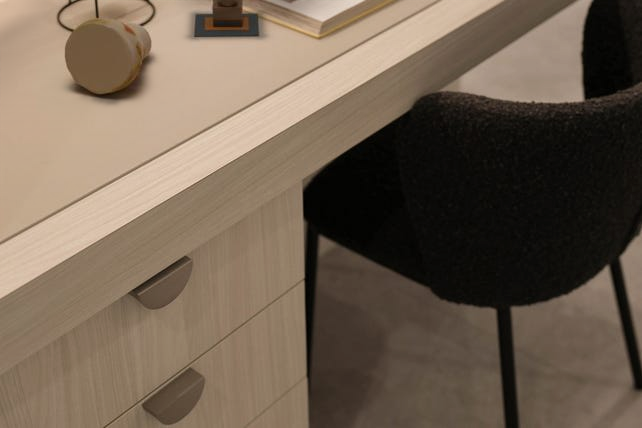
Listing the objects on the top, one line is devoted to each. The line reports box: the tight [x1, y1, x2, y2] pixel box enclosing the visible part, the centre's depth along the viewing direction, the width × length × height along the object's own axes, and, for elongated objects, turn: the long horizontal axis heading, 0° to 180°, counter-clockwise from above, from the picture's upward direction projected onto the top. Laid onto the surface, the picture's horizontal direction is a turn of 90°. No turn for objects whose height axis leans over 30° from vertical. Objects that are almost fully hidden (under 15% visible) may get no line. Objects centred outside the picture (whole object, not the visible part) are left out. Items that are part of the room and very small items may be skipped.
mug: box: [64, 17, 153, 95], centre depth 85 cm, size 8×10×10 cm
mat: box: [193, 13, 260, 38], centre depth 96 cm, size 7×5×1 cm
